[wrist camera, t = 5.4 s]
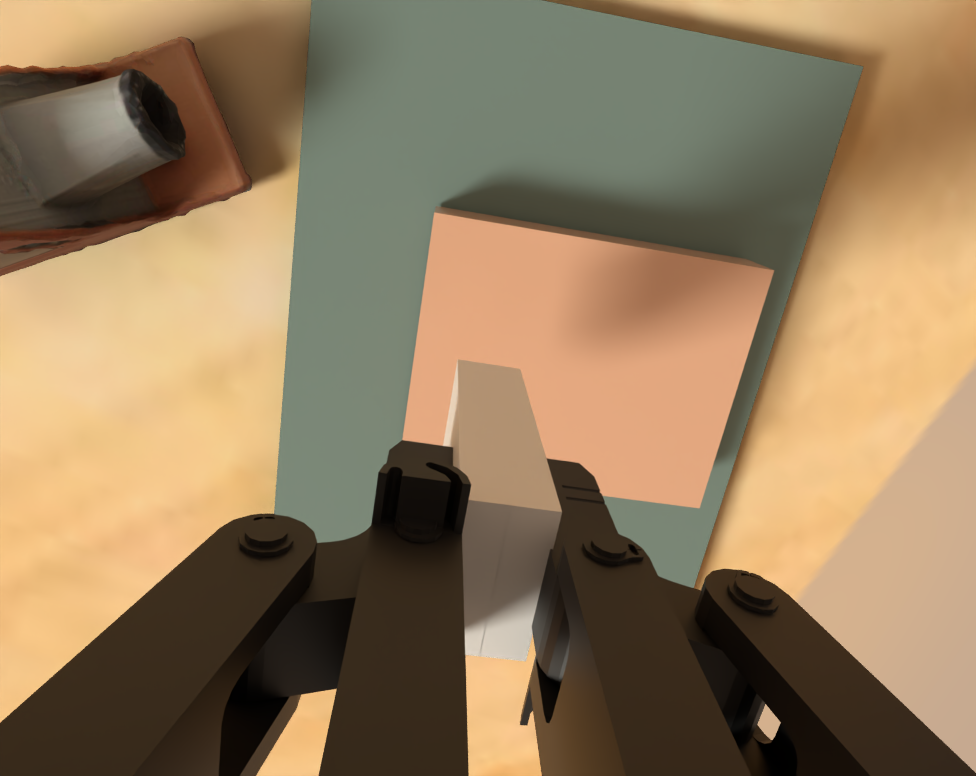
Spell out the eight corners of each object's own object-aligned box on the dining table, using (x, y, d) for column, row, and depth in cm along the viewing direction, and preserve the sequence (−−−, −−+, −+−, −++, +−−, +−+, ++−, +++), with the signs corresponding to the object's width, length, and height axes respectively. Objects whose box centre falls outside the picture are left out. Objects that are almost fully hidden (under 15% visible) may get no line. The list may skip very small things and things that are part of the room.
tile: (434, 212, 19) (774, 270, 20) (436, 205, 21) (744, 258, 22) (398, 468, 21) (699, 508, 22) (403, 440, 23) (679, 477, 24)
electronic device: (265, 187, 21) (168, 210, 14) (-8, 284, 22) (-230, 352, 15) (201, 38, 20) (57, -19, 13) (-90, 148, 20) (-379, 151, 13)
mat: (322, -38, 19) (314, -47, 18) (845, 70, 21) (863, 66, 20) (276, 556, 26) (269, 572, 25) (675, 602, 27) (683, 618, 27)
